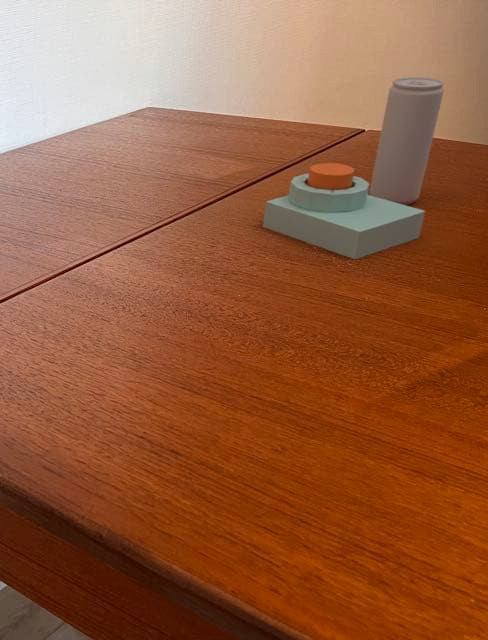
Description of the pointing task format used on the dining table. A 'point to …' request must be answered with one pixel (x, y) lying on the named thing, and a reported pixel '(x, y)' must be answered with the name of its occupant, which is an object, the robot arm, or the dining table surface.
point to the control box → (342, 218)
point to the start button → (330, 176)
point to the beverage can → (406, 139)
